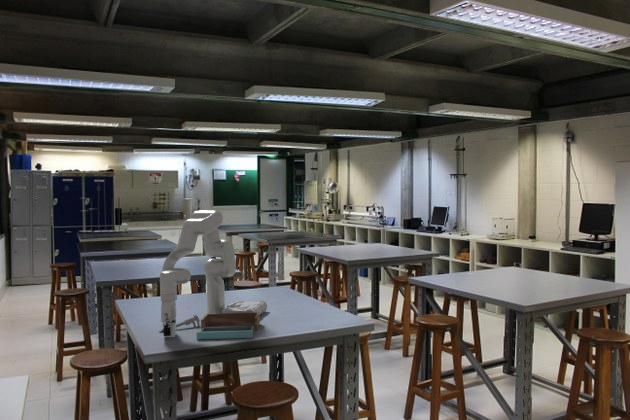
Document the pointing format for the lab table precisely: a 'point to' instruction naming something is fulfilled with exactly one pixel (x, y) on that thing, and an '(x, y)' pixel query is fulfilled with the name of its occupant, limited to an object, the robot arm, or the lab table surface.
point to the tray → (226, 332)
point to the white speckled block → (172, 330)
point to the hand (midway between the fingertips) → (170, 333)
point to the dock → (231, 319)
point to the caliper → (188, 322)
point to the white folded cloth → (246, 307)
